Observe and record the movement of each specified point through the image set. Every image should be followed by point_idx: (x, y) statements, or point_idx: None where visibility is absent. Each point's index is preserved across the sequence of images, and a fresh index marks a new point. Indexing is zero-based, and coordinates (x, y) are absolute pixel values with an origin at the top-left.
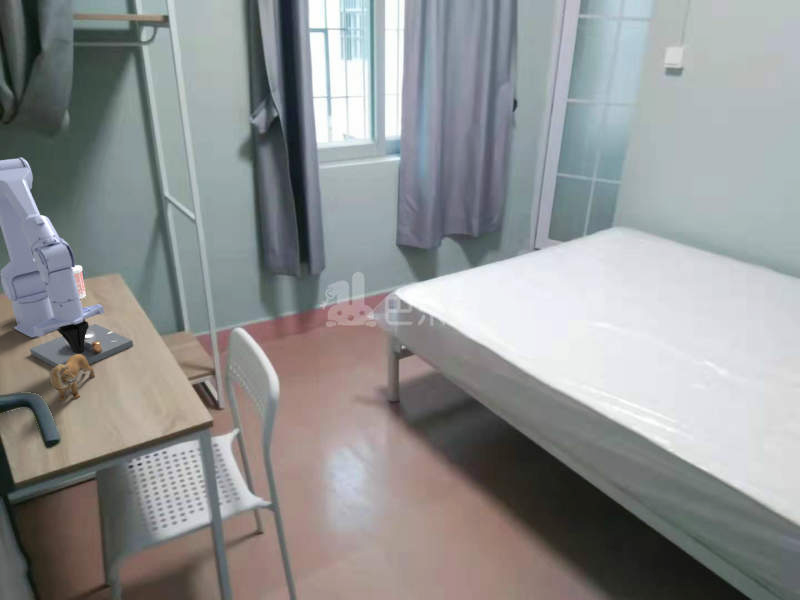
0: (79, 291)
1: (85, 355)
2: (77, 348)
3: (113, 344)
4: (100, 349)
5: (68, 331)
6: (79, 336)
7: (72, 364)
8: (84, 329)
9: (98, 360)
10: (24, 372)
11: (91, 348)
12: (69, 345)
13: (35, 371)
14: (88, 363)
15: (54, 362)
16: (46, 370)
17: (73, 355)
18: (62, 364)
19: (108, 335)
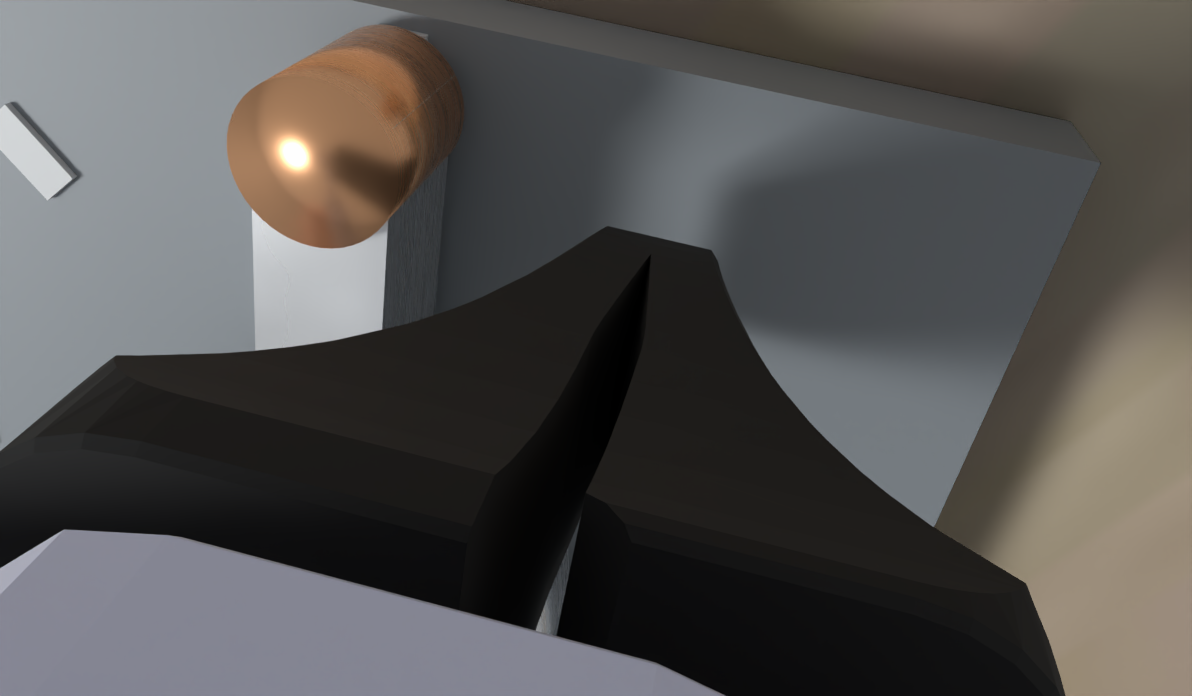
0: None
1: (579, 218)
2: (705, 290)
3: (80, 80)
4: (348, 37)
5: (964, 686)
6: (566, 383)
7: None
8: (316, 386)
9: (502, 4)
10: (1151, 690)
11: (423, 220)
12: (551, 594)
13: (1095, 598)
14: (676, 46)
15: (947, 493)
16: (1033, 498)
17: None
18: (977, 332)
19: (3, 385)
